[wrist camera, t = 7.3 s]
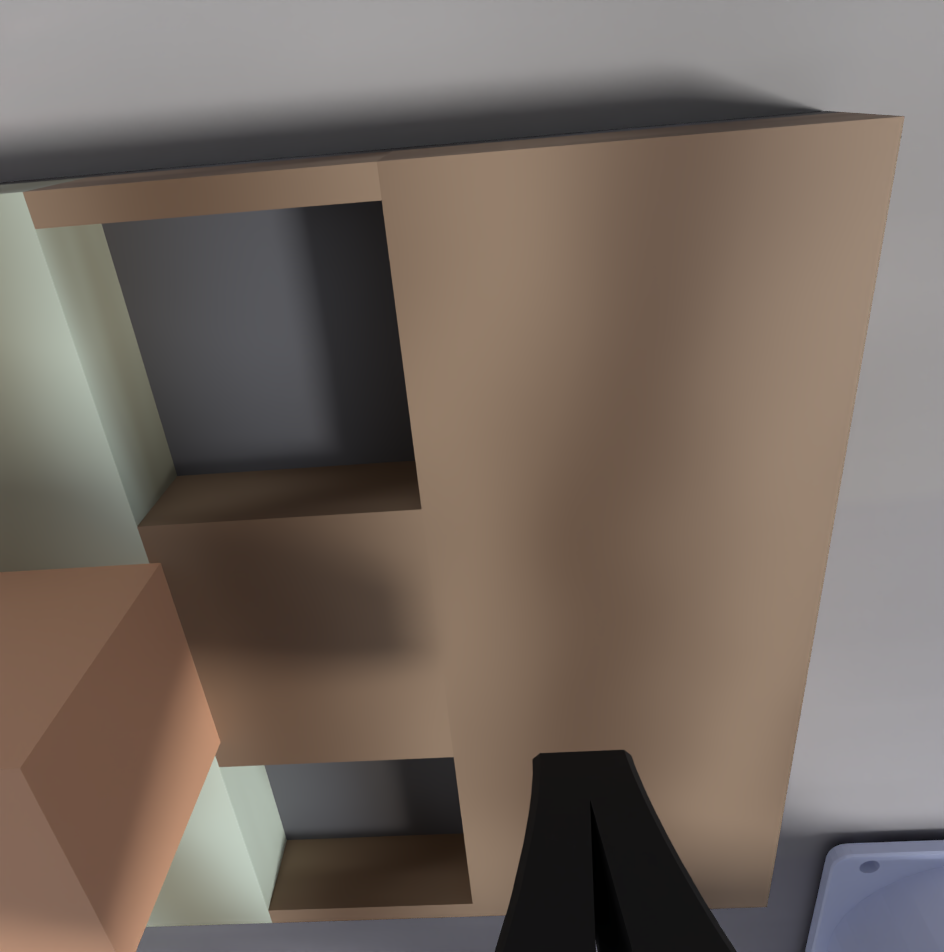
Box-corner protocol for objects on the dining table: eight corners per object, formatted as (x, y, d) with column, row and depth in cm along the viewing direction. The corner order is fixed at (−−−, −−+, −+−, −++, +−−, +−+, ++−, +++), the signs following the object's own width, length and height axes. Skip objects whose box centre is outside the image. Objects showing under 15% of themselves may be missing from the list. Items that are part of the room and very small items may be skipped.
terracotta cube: (160, 562, 13) (19, 768, 9) (220, 742, 15) (127, 973, 11) (-80, 576, 13) (-320, 783, 9) (11, 751, 15) (-153, 981, 12)
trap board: (826, 111, 12) (904, 116, 10) (735, 815, 20) (766, 907, 18) (-121, 192, 13) (-249, 214, 10) (155, 837, 21) (115, 928, 18)
